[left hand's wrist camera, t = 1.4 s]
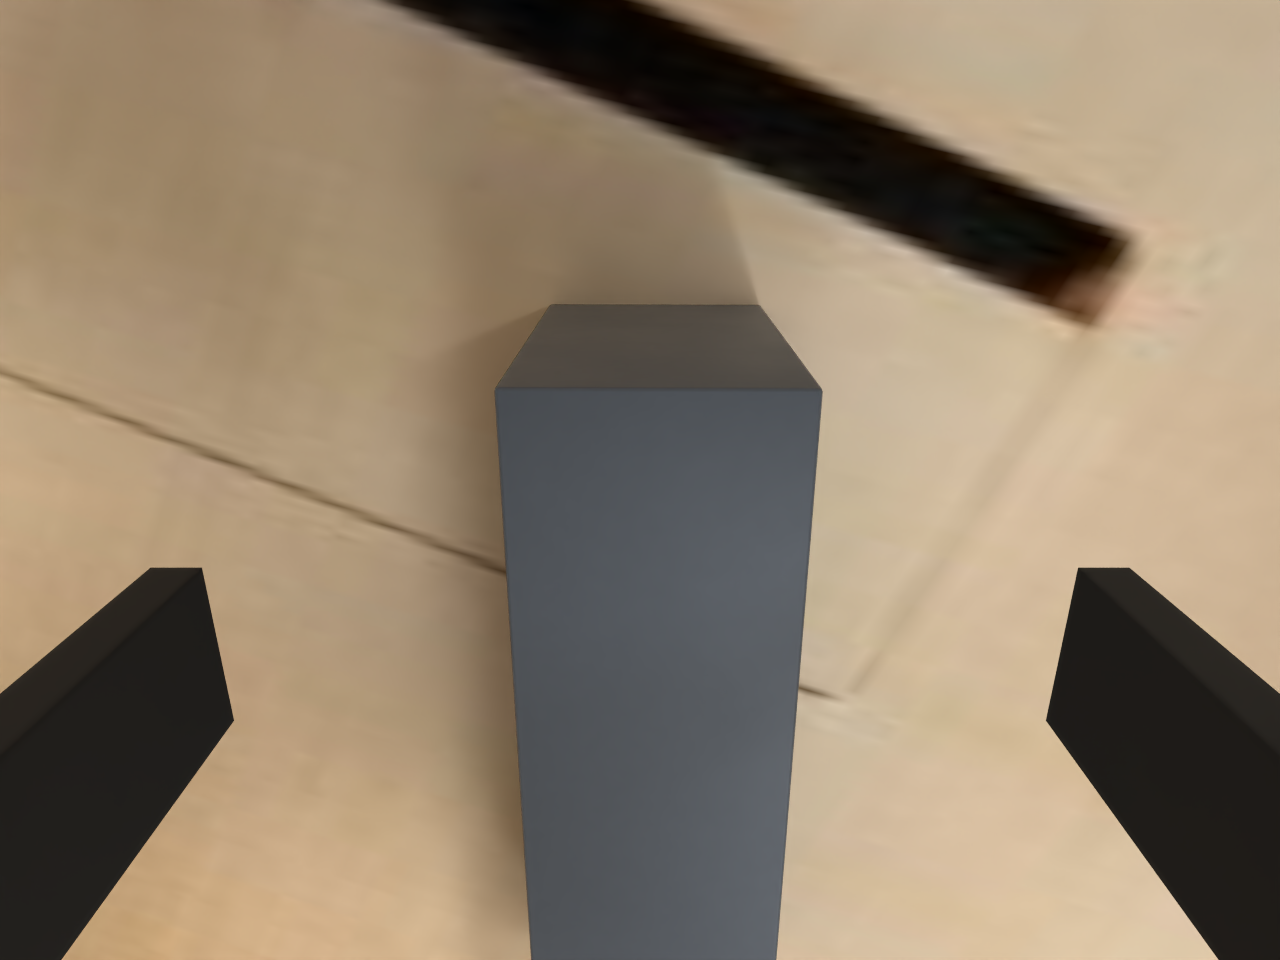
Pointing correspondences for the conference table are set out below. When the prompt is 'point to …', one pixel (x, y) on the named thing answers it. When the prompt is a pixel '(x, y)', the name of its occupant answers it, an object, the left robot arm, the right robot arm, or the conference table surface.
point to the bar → (656, 623)
